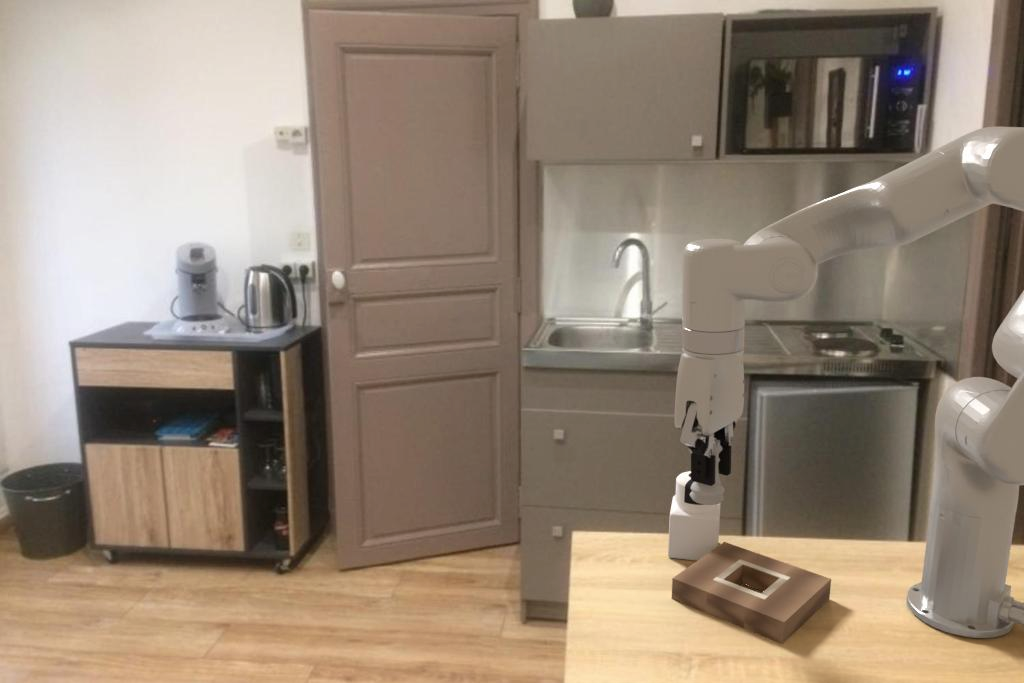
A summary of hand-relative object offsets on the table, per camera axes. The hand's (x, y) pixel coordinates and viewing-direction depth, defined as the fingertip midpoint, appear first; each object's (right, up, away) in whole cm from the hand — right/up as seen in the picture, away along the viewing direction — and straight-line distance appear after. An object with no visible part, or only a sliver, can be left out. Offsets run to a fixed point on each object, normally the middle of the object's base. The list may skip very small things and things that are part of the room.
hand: (710, 476), depth 114 cm
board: (+7, -17, +6) cm, 19 cm away
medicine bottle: (+2, -14, +19) cm, 24 cm away
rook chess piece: (0, -3, +1) cm, 3 cm away
